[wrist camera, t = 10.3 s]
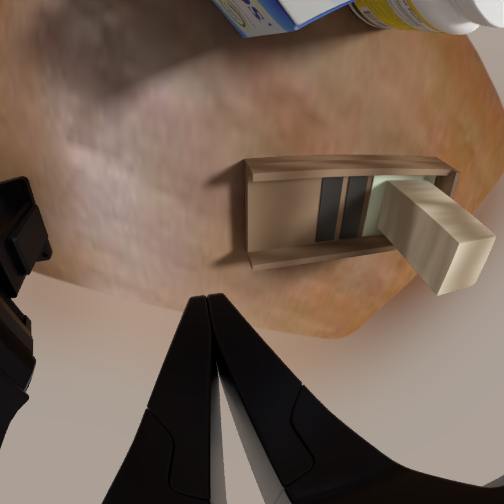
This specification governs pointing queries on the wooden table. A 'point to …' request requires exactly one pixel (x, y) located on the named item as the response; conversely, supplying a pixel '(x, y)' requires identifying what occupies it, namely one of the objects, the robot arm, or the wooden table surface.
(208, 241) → the wooden table surface
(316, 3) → the medicine box
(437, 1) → the supplement bottle
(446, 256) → the cream block
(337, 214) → the box
